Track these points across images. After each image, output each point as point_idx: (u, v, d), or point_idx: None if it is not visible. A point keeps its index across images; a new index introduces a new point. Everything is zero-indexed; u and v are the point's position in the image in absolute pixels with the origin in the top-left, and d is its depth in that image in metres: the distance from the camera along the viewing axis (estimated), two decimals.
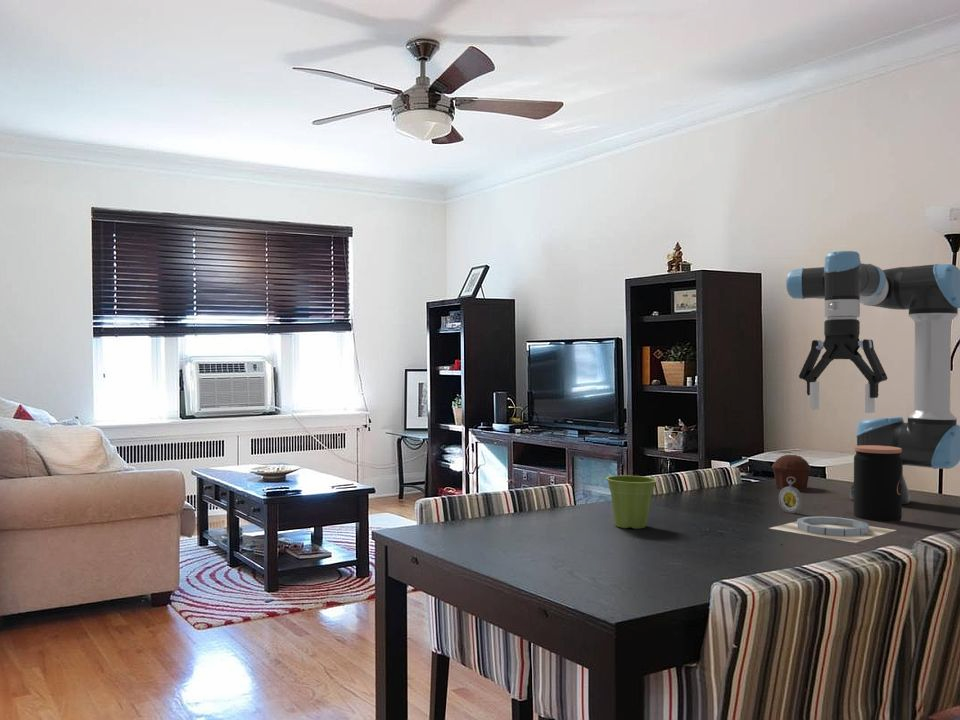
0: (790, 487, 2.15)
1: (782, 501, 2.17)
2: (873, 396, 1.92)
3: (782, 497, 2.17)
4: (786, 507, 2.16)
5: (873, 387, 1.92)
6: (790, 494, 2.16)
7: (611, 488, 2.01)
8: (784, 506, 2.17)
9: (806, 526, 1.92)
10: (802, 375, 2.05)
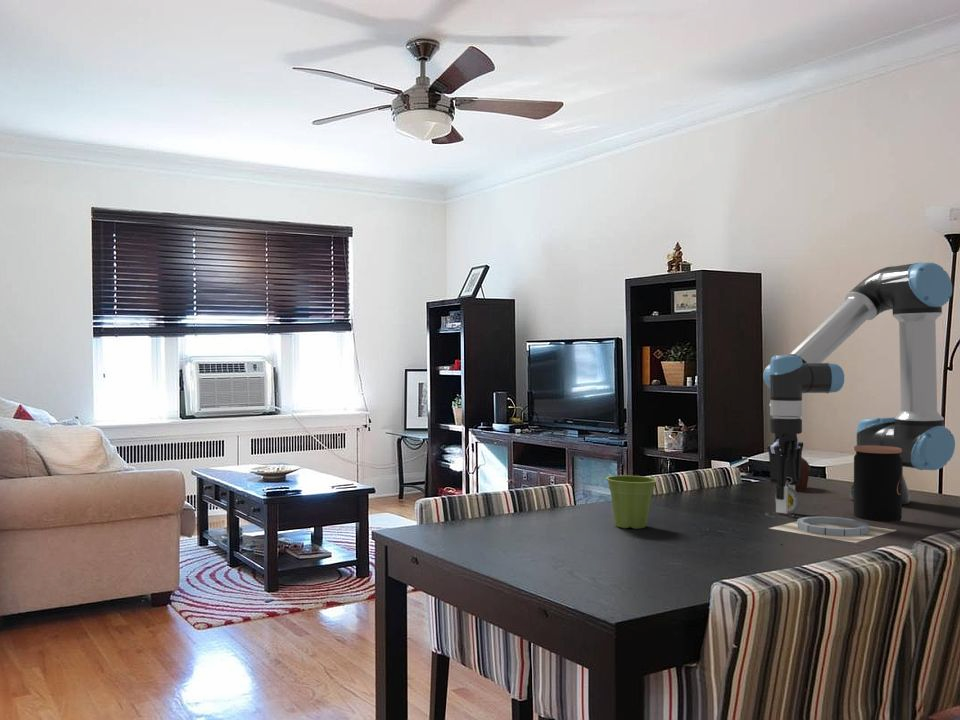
0: None
1: None
2: None
3: None
4: None
5: None
6: None
7: (611, 488, 2.01)
8: None
9: (806, 526, 1.92)
10: None
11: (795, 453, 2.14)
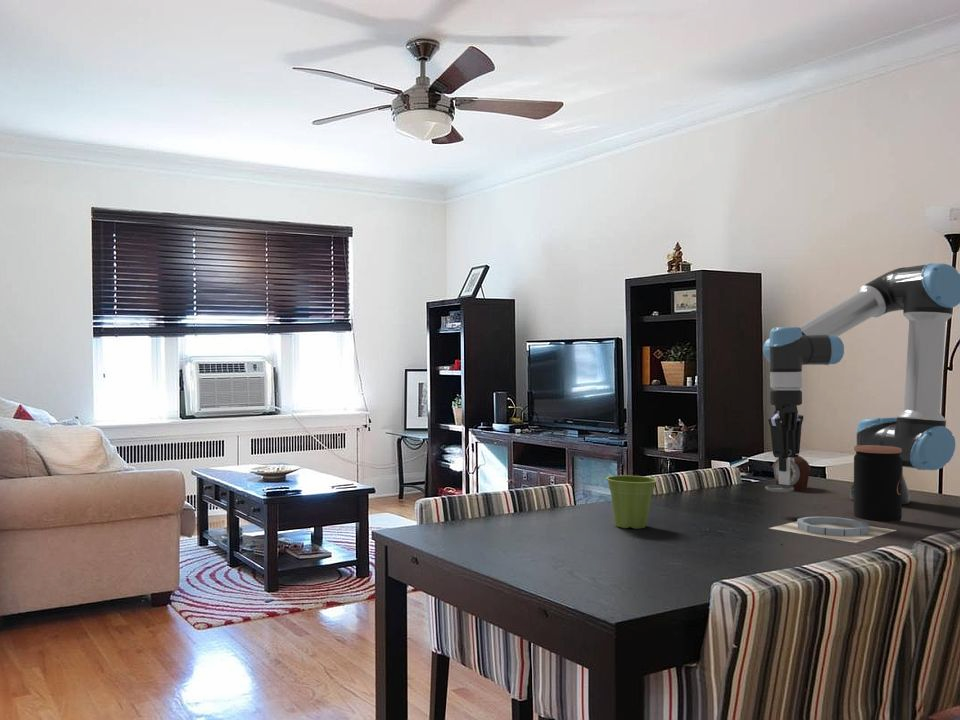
0: None
1: (778, 474, 2.16)
2: None
3: (778, 470, 2.16)
4: None
5: None
6: None
7: (611, 488, 2.01)
8: None
9: (806, 526, 1.92)
10: None
11: (795, 425, 2.14)
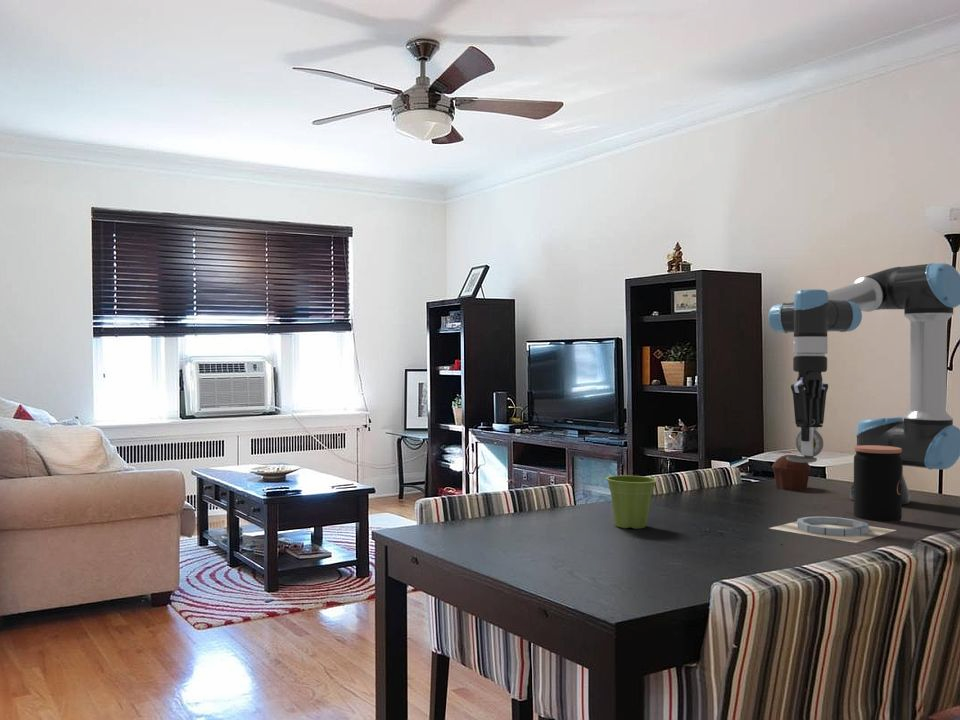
0: None
1: (800, 445, 2.05)
2: None
3: (800, 440, 2.05)
4: None
5: None
6: None
7: (611, 488, 2.01)
8: None
9: (806, 526, 1.92)
10: None
11: (819, 393, 2.03)
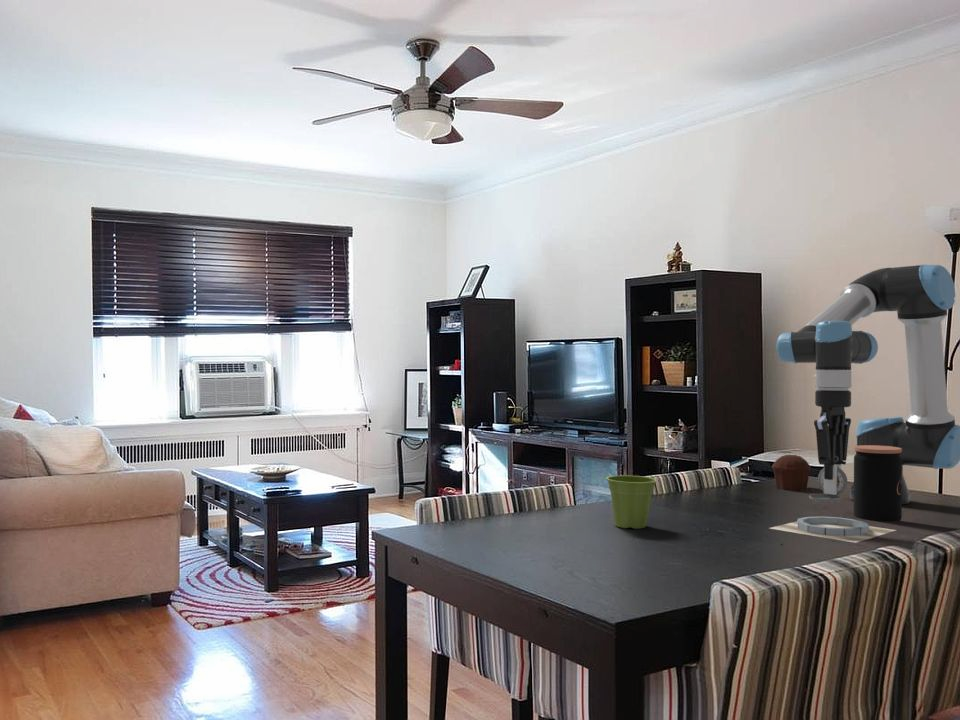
0: None
1: (822, 482, 1.96)
2: None
3: (822, 478, 1.96)
4: None
5: None
6: None
7: (611, 488, 2.01)
8: None
9: (806, 526, 1.92)
10: None
11: (843, 429, 1.95)
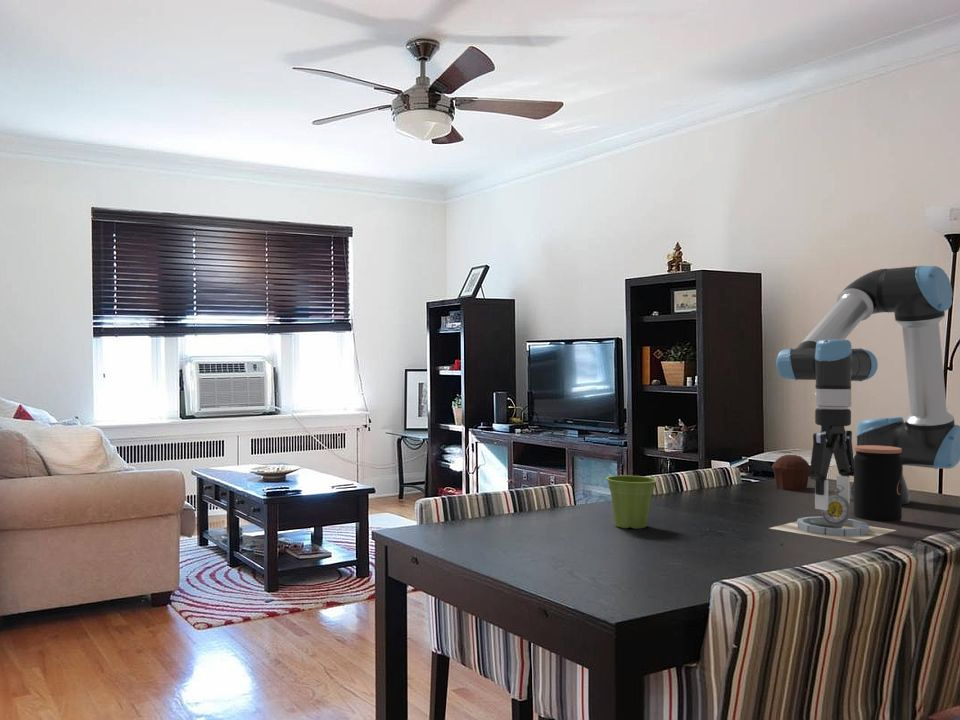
0: (837, 496, 1.96)
1: (825, 511, 1.97)
2: None
3: None
4: (830, 518, 1.96)
5: None
6: (836, 504, 1.96)
7: (611, 488, 2.01)
8: (827, 517, 1.96)
9: (806, 526, 1.92)
10: None
11: (845, 446, 1.95)
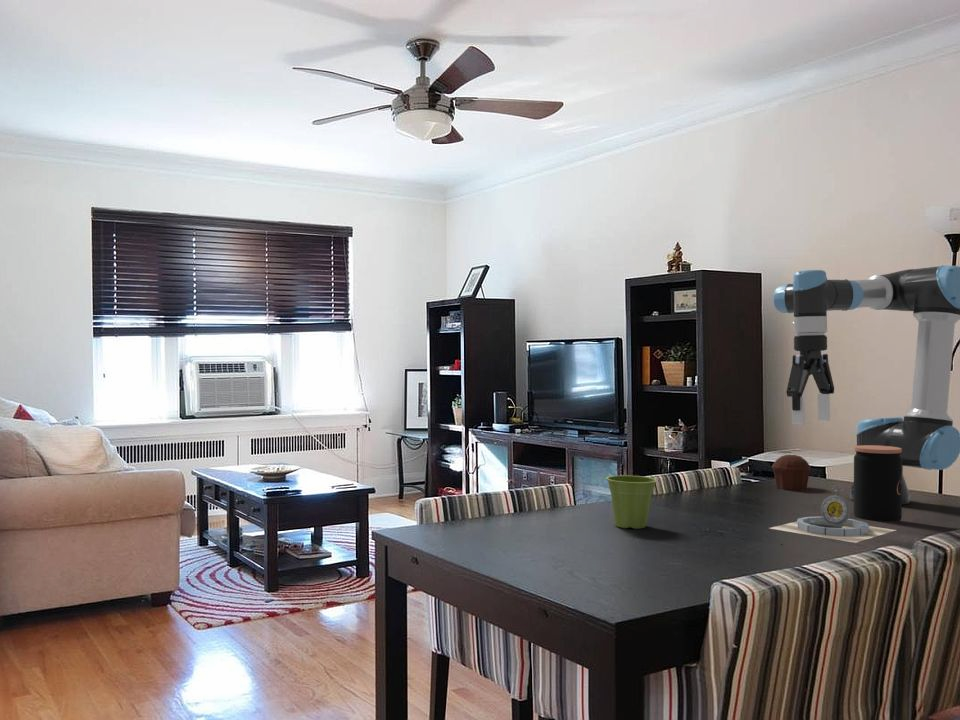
0: (837, 496, 1.96)
1: (825, 511, 1.97)
2: None
3: (826, 507, 1.97)
4: (830, 518, 1.96)
5: None
6: (836, 504, 1.96)
7: (611, 488, 2.01)
8: (827, 517, 1.96)
9: (806, 526, 1.92)
10: None
11: (823, 368, 2.09)
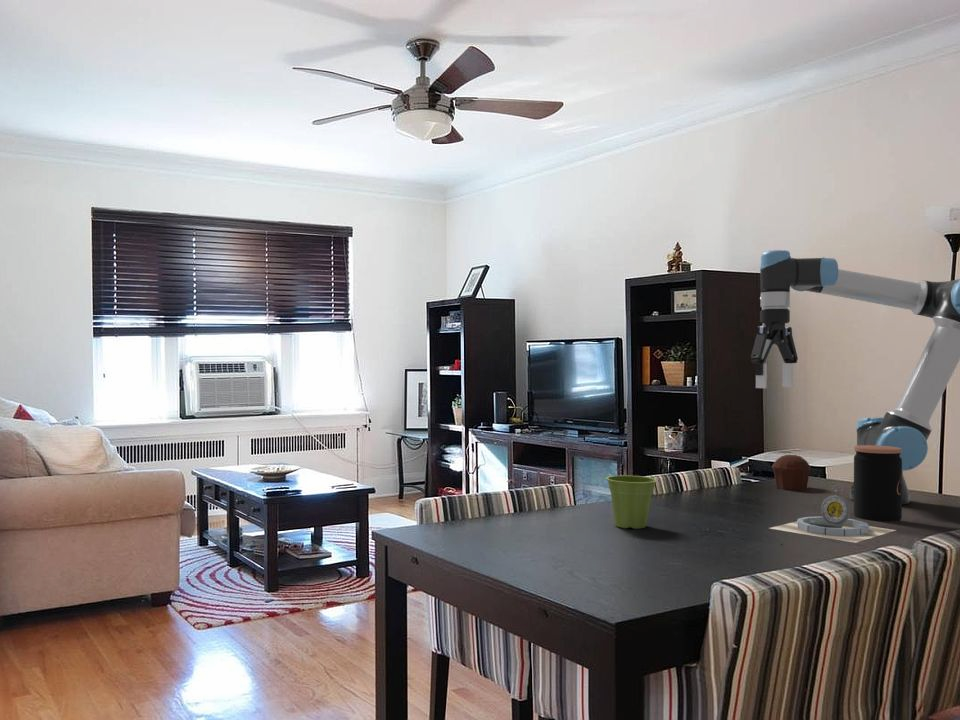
0: (837, 496, 1.96)
1: (825, 511, 1.97)
2: None
3: (826, 507, 1.97)
4: (830, 518, 1.96)
5: None
6: (836, 504, 1.96)
7: (611, 488, 2.01)
8: (827, 517, 1.96)
9: (806, 526, 1.92)
10: None
11: (786, 339, 2.32)
